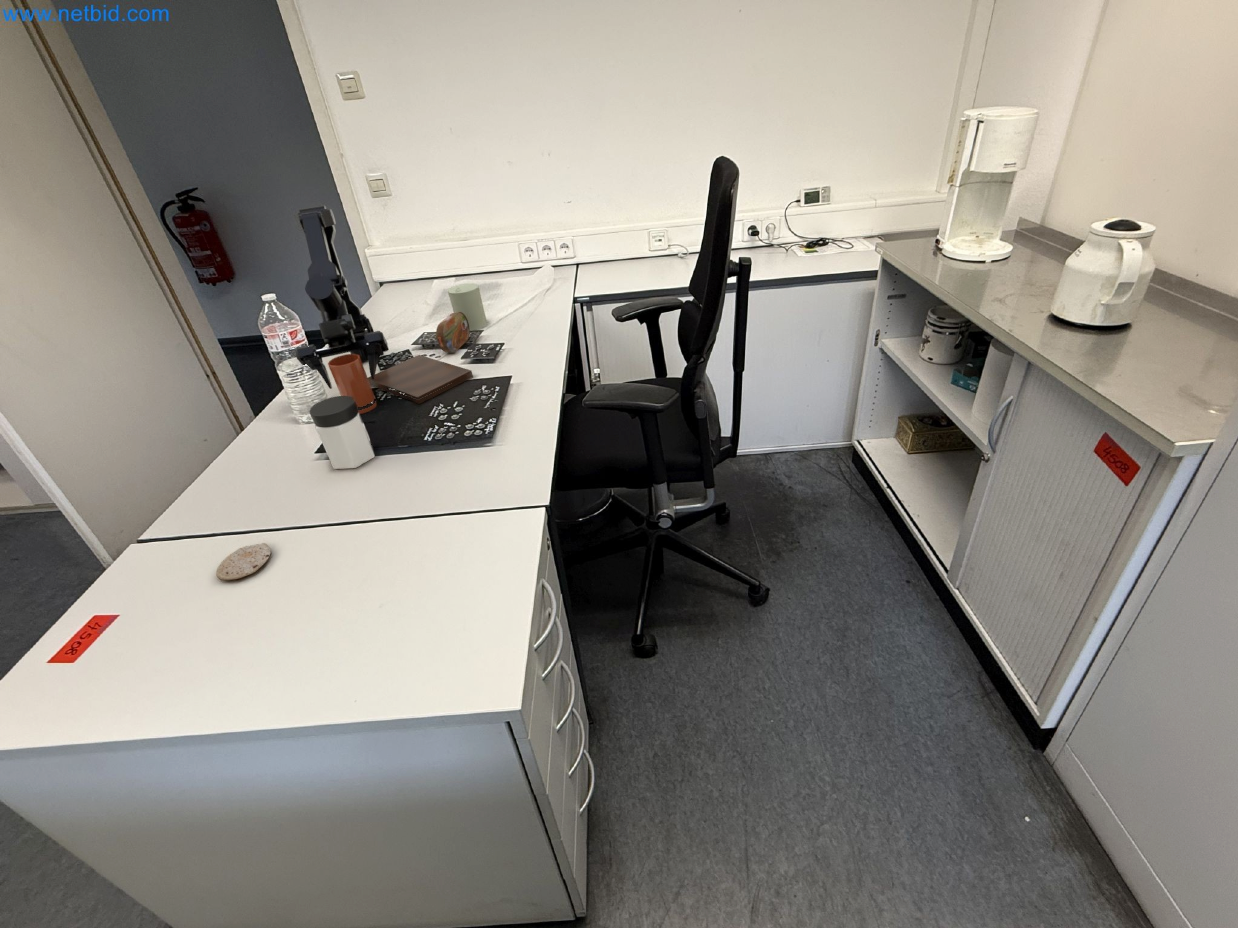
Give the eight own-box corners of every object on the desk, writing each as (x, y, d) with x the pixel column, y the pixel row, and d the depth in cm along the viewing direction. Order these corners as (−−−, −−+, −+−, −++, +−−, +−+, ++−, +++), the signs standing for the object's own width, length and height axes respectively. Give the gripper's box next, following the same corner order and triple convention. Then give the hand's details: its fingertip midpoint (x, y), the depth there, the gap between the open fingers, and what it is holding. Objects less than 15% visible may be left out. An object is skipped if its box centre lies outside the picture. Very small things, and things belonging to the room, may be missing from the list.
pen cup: (341, 410, 136) (322, 362, 129) (367, 398, 140) (349, 351, 133) (356, 417, 132) (337, 368, 125) (382, 404, 136) (365, 357, 129)
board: (368, 384, 147) (366, 378, 146) (420, 361, 157) (419, 354, 156) (419, 404, 134) (417, 397, 133) (473, 377, 144) (471, 370, 143)
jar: (377, 461, 114) (356, 408, 108) (334, 475, 112) (309, 421, 105) (372, 442, 121) (352, 390, 115) (331, 454, 119) (308, 402, 112)
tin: (450, 357, 157) (442, 327, 152) (440, 357, 157) (431, 327, 153) (473, 335, 169) (465, 307, 164) (463, 336, 169) (455, 308, 165)
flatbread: (248, 583, 88) (245, 578, 87) (206, 580, 89) (203, 575, 89) (283, 547, 94) (280, 542, 94) (243, 545, 96) (240, 540, 95)
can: (451, 330, 174) (440, 291, 168) (468, 319, 181) (458, 281, 175) (476, 332, 171) (466, 291, 164) (493, 321, 178) (484, 281, 171)
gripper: (279, 313, 124) (294, 379, 121) (369, 295, 128) (386, 359, 125) (298, 336, 135) (312, 398, 132) (381, 319, 139) (396, 379, 136)
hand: (351, 383), depth 131 cm, fingers open, 9 cm apart
